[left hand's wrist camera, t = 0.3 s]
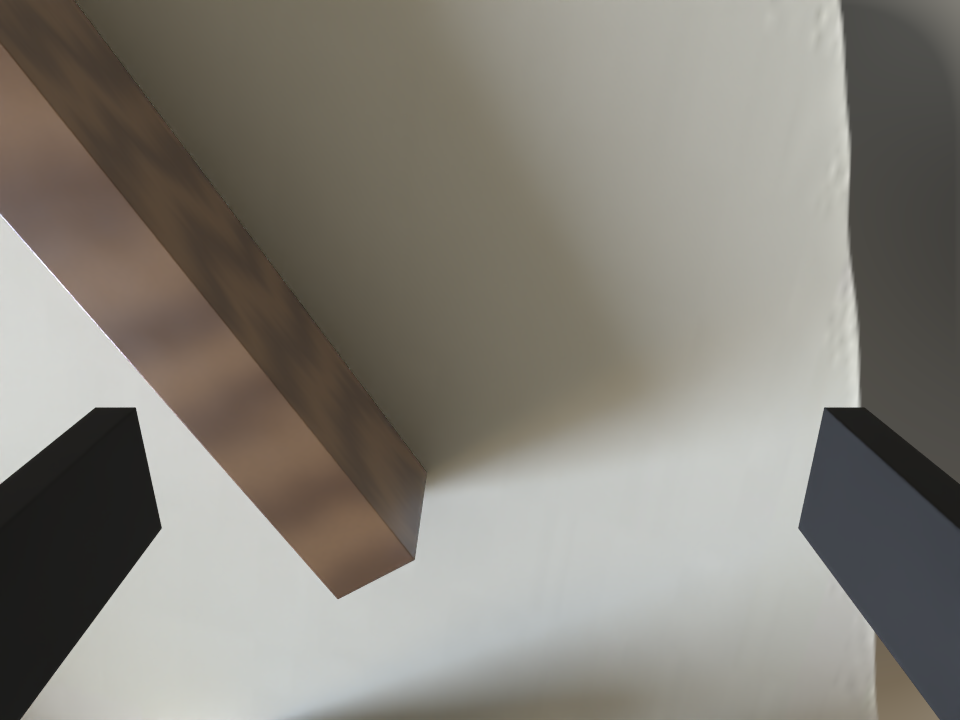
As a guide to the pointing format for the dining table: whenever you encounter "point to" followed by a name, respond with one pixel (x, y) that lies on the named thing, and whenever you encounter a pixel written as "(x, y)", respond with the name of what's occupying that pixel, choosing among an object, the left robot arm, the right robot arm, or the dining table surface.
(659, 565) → the dining table surface
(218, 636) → the dining table surface
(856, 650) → the dining table surface
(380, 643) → the dining table surface
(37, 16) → the post
